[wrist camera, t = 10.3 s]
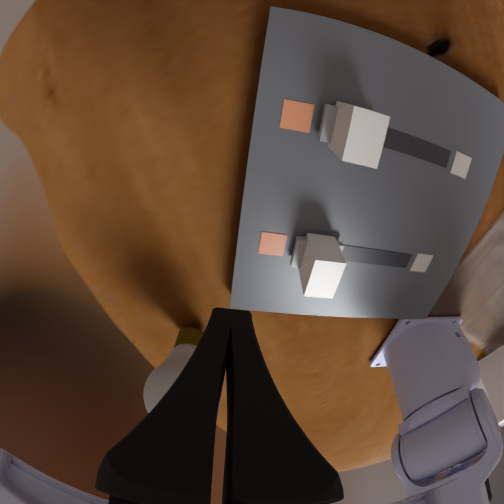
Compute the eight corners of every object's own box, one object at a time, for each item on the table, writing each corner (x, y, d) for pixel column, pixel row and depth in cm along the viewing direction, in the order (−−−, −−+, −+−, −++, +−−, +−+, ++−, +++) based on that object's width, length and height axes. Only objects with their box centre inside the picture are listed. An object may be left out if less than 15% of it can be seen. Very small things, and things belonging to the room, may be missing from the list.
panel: (500, 105, 12) (513, 110, 11) (419, 307, 23) (425, 319, 22) (269, 12, 11) (270, 6, 10) (230, 294, 22) (229, 308, 21)
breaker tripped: (377, 112, 13) (401, 120, 10) (367, 155, 14) (387, 171, 12) (325, 98, 13) (340, 102, 10) (316, 144, 14) (329, 158, 12)
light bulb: (172, 298, 23) (142, 406, 14) (236, 322, 24) (230, 430, 16) (156, 335, 26) (132, 428, 17) (212, 355, 27) (201, 447, 19)
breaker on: (343, 237, 17) (356, 264, 15) (332, 270, 19) (341, 299, 16) (297, 231, 17) (304, 258, 15) (289, 266, 18) (293, 295, 16)
